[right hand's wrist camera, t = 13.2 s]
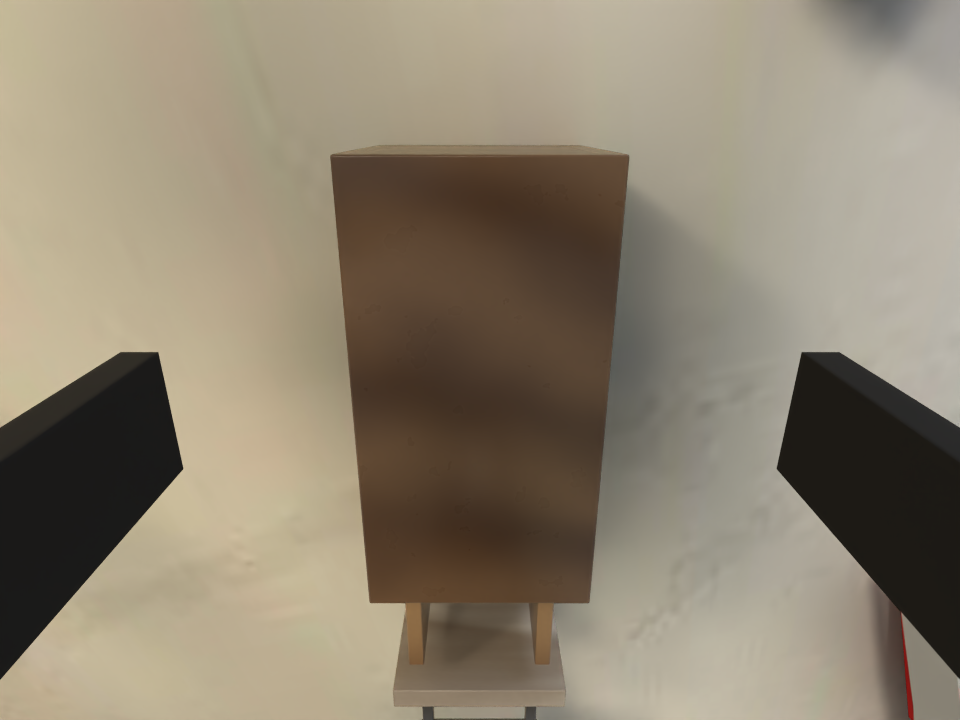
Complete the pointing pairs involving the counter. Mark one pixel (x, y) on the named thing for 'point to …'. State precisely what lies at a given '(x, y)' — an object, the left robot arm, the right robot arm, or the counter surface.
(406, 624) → the drawer
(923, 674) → the toy
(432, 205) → the cabinet
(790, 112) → the counter surface
